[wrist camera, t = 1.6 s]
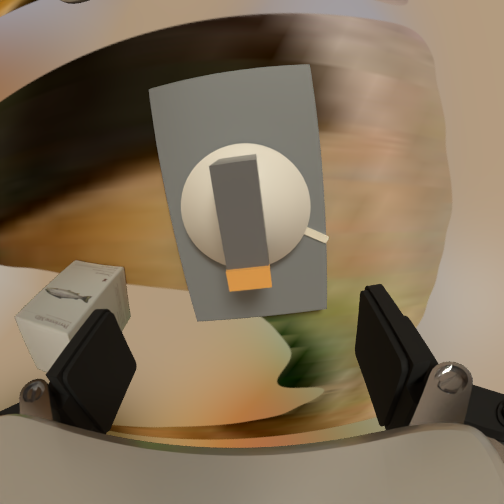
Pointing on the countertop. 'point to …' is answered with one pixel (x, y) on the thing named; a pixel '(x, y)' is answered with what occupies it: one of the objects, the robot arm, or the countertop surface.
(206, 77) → the dial base
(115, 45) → the countertop surface
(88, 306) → the supplement box
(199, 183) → the dial
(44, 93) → the countertop surface
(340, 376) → the countertop surface
